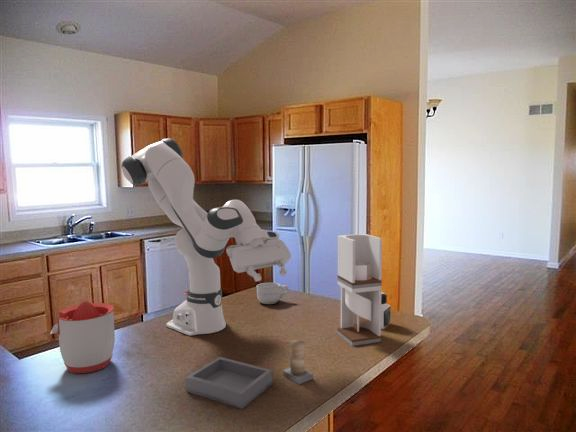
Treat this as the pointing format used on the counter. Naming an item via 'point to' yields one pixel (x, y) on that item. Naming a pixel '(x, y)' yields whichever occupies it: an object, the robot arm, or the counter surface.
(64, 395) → the counter surface
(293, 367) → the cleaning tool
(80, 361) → the citrus juicer
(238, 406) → the tray
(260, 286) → the teacup
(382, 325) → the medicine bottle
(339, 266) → the white miniature tower model
